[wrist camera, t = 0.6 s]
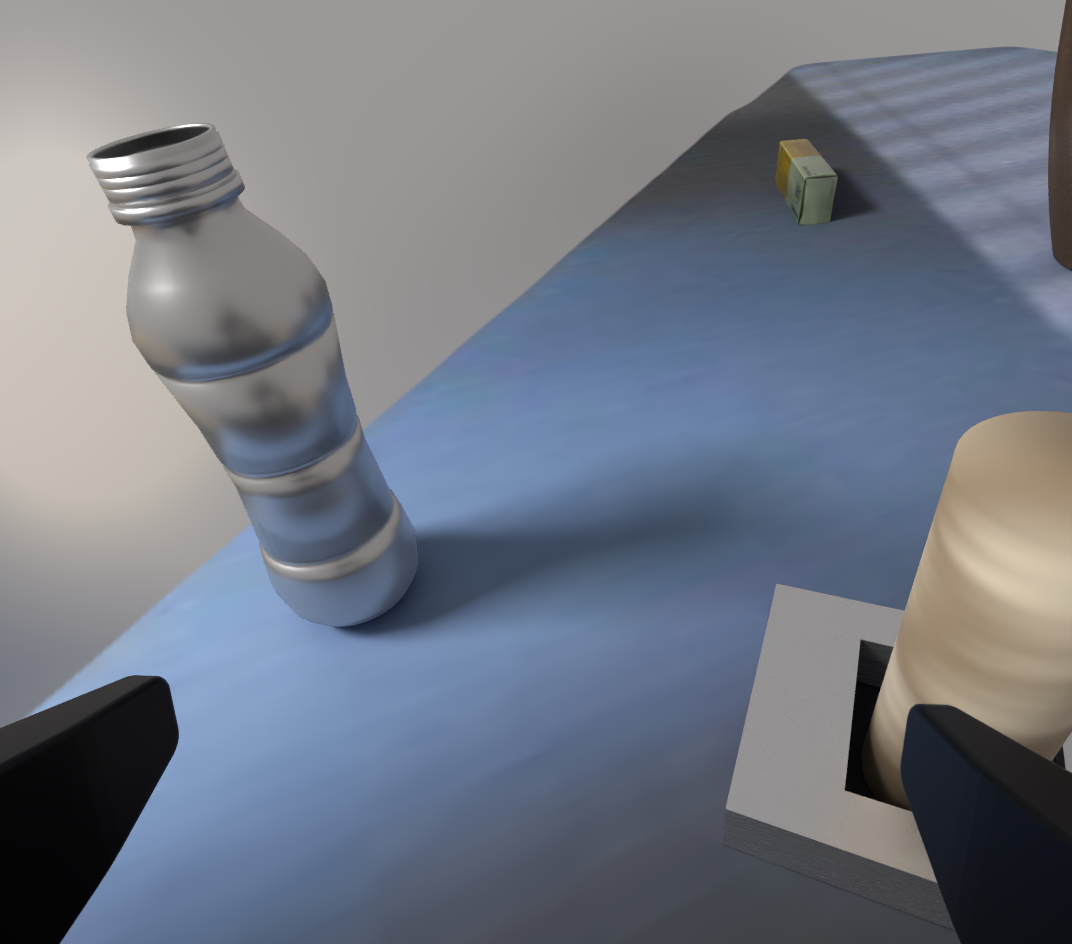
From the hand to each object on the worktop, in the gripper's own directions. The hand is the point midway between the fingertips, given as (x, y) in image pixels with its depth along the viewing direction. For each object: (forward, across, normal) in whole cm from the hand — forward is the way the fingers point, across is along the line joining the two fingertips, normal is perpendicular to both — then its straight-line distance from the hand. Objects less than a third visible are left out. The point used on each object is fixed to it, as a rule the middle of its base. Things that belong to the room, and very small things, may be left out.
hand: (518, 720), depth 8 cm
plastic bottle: (+22, +11, +9) cm, 26 cm away
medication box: (+62, -18, -10) cm, 65 cm away
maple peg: (+13, -12, +11) cm, 21 cm away
